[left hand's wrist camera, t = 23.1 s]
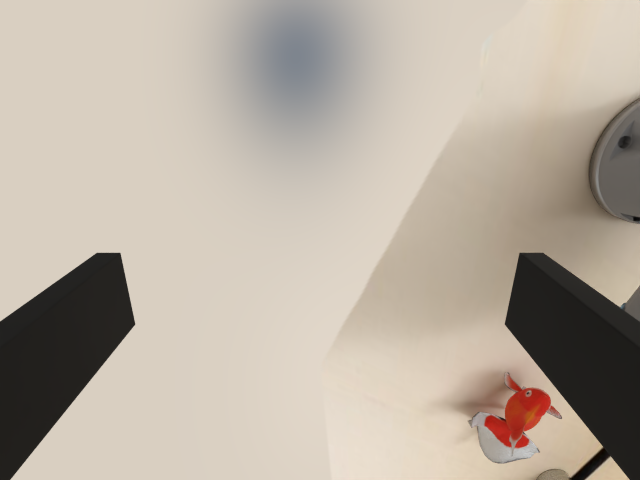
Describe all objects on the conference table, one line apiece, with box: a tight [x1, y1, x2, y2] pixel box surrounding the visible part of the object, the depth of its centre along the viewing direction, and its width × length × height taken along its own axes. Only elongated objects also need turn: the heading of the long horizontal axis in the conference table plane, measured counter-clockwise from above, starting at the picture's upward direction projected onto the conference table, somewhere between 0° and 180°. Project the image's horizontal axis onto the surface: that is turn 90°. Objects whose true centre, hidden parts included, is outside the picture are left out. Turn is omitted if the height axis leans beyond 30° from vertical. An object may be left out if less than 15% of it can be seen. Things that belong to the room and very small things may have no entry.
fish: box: [468, 373, 562, 463], centre depth 54 cm, size 11×16×10 cm
